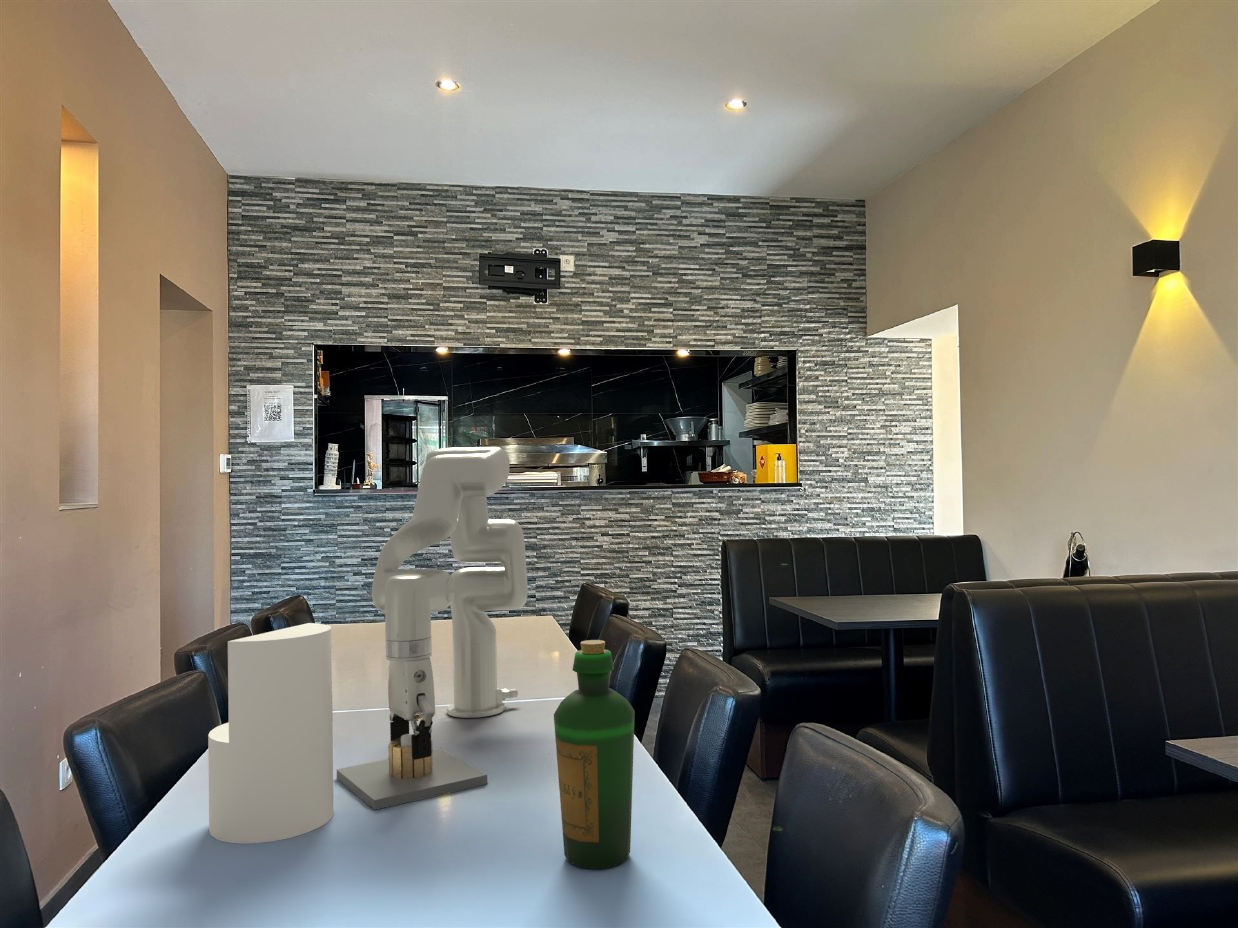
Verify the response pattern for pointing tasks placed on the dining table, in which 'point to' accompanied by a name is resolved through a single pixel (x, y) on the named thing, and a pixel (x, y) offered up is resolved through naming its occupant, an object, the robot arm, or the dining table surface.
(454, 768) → the stand
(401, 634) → the robot arm
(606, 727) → the bottle
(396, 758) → the wooden stave ring
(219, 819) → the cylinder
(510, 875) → the dining table surface
